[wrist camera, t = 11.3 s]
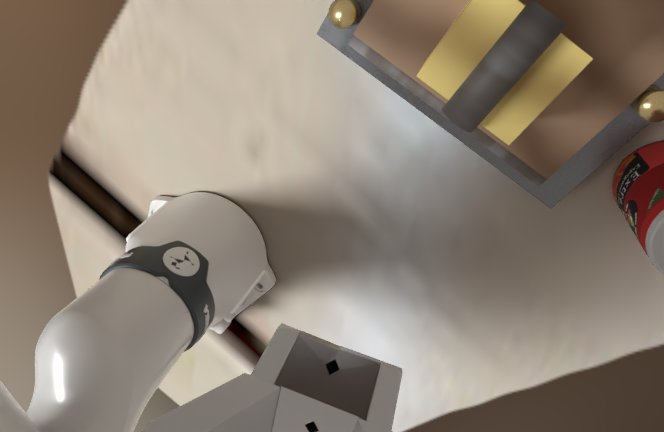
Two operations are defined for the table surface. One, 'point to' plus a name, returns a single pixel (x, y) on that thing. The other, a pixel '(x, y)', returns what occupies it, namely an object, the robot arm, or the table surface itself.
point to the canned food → (644, 198)
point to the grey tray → (648, 107)
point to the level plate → (582, 97)
